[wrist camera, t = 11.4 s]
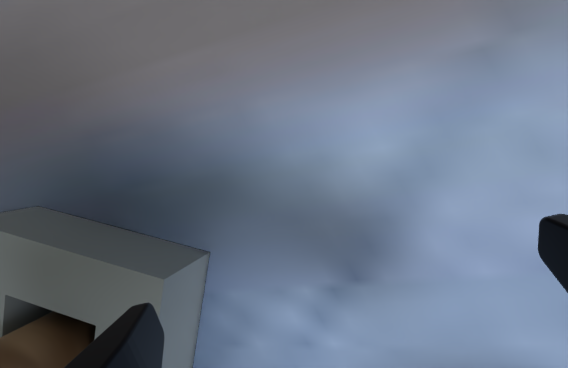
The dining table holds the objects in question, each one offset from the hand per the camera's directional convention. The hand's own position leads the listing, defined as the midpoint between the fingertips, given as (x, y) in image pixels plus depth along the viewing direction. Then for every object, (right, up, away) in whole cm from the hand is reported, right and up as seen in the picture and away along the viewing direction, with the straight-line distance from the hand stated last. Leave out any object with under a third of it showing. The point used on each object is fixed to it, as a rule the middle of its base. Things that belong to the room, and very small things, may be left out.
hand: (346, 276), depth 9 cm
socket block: (-13, -7, +17) cm, 23 cm away
